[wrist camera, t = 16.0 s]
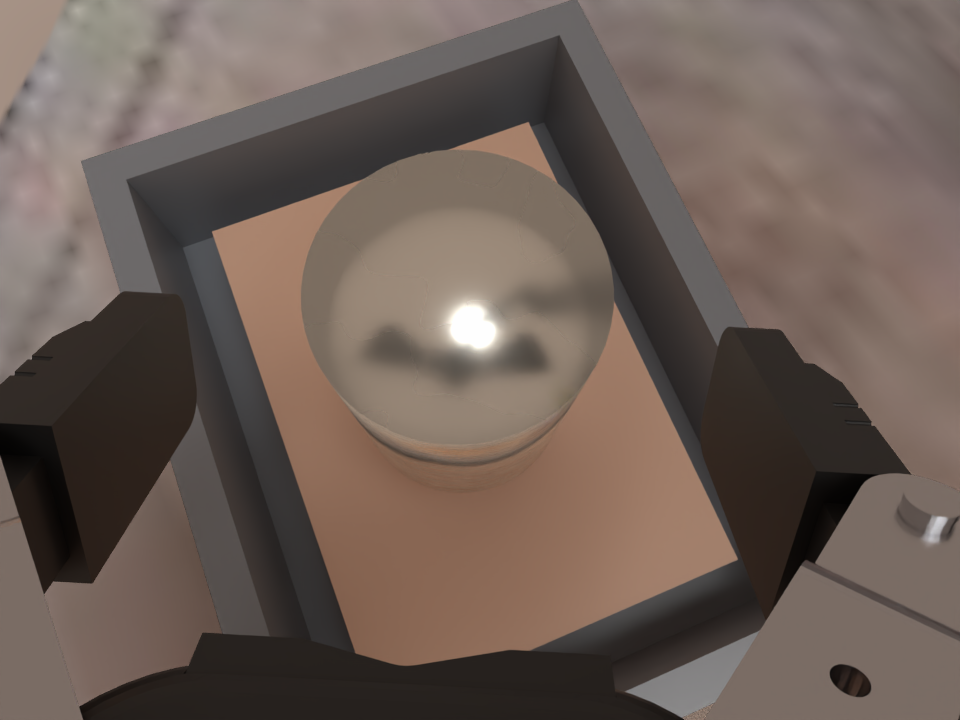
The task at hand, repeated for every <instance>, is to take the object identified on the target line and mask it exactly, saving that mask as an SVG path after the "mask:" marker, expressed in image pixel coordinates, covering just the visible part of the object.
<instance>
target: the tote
mask: <svg viewBox="0 0 960 720" xmlns="http://www.w3.org/2000/svg"><path fill="white" fill-rule="evenodd" d="M527 122H529V124H530V126H531V129H532V131H533V133H534V135H535V137H536V139H537V141H538V143H539V145H540V147H541V149H542V151H543V154H544V156H545V158H546V160H547V162H548V164H549V166H550V168H551V170H552V172H553V174H554V176H555V179H556V181H557V183H558V184H559V185H560V186H561V187H563V188H564V189H565V190H566V191H567V192H568V193H569V194H570V195H571V196H572V197H573V198H574V199H575V200H576V201H577V202H578V203H579V204H580V206H581V207H582V208H583V210H584V211H585V212H586V213H587V215H588V216H589V217H590V219H591V221H592V222H593V224H594V226H595V227H596V229H597V231H598V233H599V235H600V237H601V239H602V242H603V244H604V246H605V249H606V251H607V255H608V258H609V262H610V266H611V270H612V277H613V285H614V302H615V304H616V306H617V308H618V310H619V312H620V314H621V316H622V318H623V320H624V323H625V325H626V327H627V329H628V331H629V333H630V335H631V337H632V339H633V341H634V343H635V345H636V348H637V350H638V352H639V354H640V356H641V358H642V360H643V362H644V364H645V366H646V368H647V370H648V373H649V375H650V377H651V379H652V381H653V383H654V385H655V387H656V389H657V391H658V393H659V396H660V398H661V400H662V402H663V404H664V406H665V408H666V410H667V412H668V414H669V416H670V418H671V421H672V423H673V425H674V427H675V429H676V431H677V433H678V435H679V437H680V439H681V441H682V444H683V446H684V448H685V450H686V452H687V454H688V456H689V458H690V460H691V462H692V464H693V466H694V469H695V471H696V473H697V475H698V477H699V479H700V481H701V483H702V485H703V487H704V489H705V491H706V494H707V496H708V498H709V500H710V502H711V504H712V506H713V508H714V510H715V512H716V514H717V517H718V519H719V521H720V523H721V525H722V527H723V529H724V531H725V533H726V535H727V537H728V539H729V542H730V544H731V546H732V548H733V550H734V552H735V554H736V556H737V558H738V560H736V561H733V562H731V563H729V564H726V565H724V566H722V567H720V568H717V569H715V570H713V571H710V572H708V573H706V574H704V575H701V576H699V577H697V578H694V579H692V580H690V581H688V582H685V583H683V584H681V585H678V586H676V587H674V588H672V589H669V590H667V591H665V592H662V593H660V594H658V595H656V596H653V597H651V598H649V599H646V600H644V601H642V602H640V603H637V604H635V605H633V606H630V607H628V608H626V609H624V610H621V611H619V612H617V613H614V614H612V615H610V616H608V617H605V618H603V619H601V620H598V621H596V622H594V623H592V624H589V625H587V626H585V627H582V628H580V629H578V630H576V631H573V632H571V633H569V634H566V635H564V636H562V637H560V638H557V639H555V640H553V641H550V642H548V643H546V644H544V645H541V646H539V647H537V648H534V649H532V650H530V651H542V652H560V653H578V654H596V655H610V659H611V665H612V672H613V679H614V685H615V689H618V690H621V691H624V692H627V693H631V694H633V695H636V696H638V697H641V698H643V699H646V700H648V701H650V702H653V703H655V704H657V705H659V706H661V707H663V708H665V709H667V710H668V711H670V712H672V713H674V714H676V715H678V716H679V717H681V718H682V717H684V716H687V715H689V714H691V713H693V712H695V711H697V710H700V709H702V708H704V707H706V706H708V705H710V704H713V703H715V702H716V700H717V698H718V697H719V695H720V694H721V692H722V690H723V689H724V687H725V686H726V684H727V682H728V681H729V679H730V678H731V676H732V674H733V673H734V671H735V670H736V668H737V667H738V665H739V663H740V662H741V660H742V659H743V657H744V655H745V654H746V652H747V651H748V649H749V647H750V646H751V644H752V643H753V641H754V639H755V638H756V636H757V635H758V633H759V631H760V630H761V628H762V627H763V625H764V623H765V622H766V620H765V617H764V615H763V612H762V609H761V607H760V604H759V602H758V599H757V596H756V594H755V591H754V589H753V586H752V583H751V581H750V578H749V576H748V573H747V570H746V568H745V565H744V562H743V560H742V557H741V555H740V552H739V549H738V547H737V544H736V542H735V539H734V536H733V534H732V531H731V529H730V526H729V523H728V521H727V518H726V515H725V513H724V510H723V508H722V505H721V502H720V500H719V497H718V495H717V492H716V489H715V487H714V484H713V481H712V479H711V476H710V474H709V471H708V468H707V466H706V463H705V461H704V458H703V454H702V449H701V422H702V416H703V411H704V407H705V402H706V398H707V393H708V389H709V385H710V380H711V376H712V371H713V367H714V362H715V358H716V354H717V349H718V345H719V341H720V338H721V335H722V333H723V331H724V330H725V329H726V328H727V327H743V328H749V327H748V325H747V323H746V322H745V320H744V318H743V316H742V314H741V312H740V310H739V308H738V306H737V304H736V302H735V301H734V299H733V297H732V295H731V293H730V291H729V289H728V287H727V285H726V283H725V281H724V279H723V278H722V276H721V274H720V272H719V270H718V268H717V266H716V264H715V262H714V260H713V258H712V257H711V255H710V253H709V251H708V249H707V247H706V245H705V243H704V241H703V239H702V237H701V236H700V234H699V232H698V230H697V228H696V226H695V224H694V222H693V220H692V218H691V216H690V215H689V213H688V211H687V209H686V207H685V205H684V203H683V201H682V199H681V197H680V195H679V193H678V192H677V190H676V188H675V186H674V184H673V182H672V180H671V178H670V176H669V174H668V172H667V171H666V169H665V167H664V165H663V163H662V161H661V159H660V157H659V155H658V153H657V151H656V150H655V148H654V146H653V144H652V142H651V140H650V138H649V136H648V134H647V132H646V130H645V129H644V127H643V125H642V123H641V121H640V119H639V117H638V115H637V113H636V111H635V109H634V107H633V106H632V104H631V102H630V100H629V98H628V96H627V94H626V92H625V90H624V88H623V86H622V85H621V83H620V81H619V79H618V77H617V75H616V73H615V71H614V69H613V67H612V65H611V64H610V62H609V60H608V58H607V56H606V54H605V52H604V50H603V48H602V46H601V44H600V43H599V41H598V39H597V37H596V35H595V33H594V31H593V29H592V27H591V25H590V23H589V22H588V20H587V18H586V16H585V14H584V12H583V10H582V8H581V6H580V4H579V2H578V0H571V1H568V2H565V3H562V4H559V5H556V6H553V7H550V8H547V9H544V10H540V11H537V12H534V13H531V14H528V15H525V16H522V17H519V18H516V19H513V20H510V21H507V22H504V23H501V24H498V25H495V26H492V27H489V28H486V29H482V30H479V31H476V32H473V33H470V34H467V35H464V36H461V37H458V38H455V39H452V40H449V41H446V42H443V43H440V44H437V45H434V46H431V47H428V48H425V49H421V50H418V51H415V52H412V53H409V54H406V55H403V56H400V57H397V58H394V59H391V60H388V61H385V62H382V63H379V64H376V65H373V66H370V67H367V68H364V69H360V70H357V71H354V72H351V73H348V74H345V75H342V76H339V77H336V78H333V79H330V80H327V81H324V82H321V83H318V84H315V85H312V86H309V87H306V88H303V89H299V90H296V91H293V92H290V93H287V94H284V95H281V96H278V97H275V98H272V99H269V100H266V101H263V102H260V103H257V104H254V105H251V106H248V107H245V108H242V109H238V110H235V111H232V112H229V113H226V114H223V115H220V116H217V117H214V118H211V119H208V120H205V121H202V122H199V123H196V124H193V125H190V126H187V127H184V128H181V129H177V130H174V131H171V132H168V133H165V134H162V135H159V136H156V137H153V138H150V139H147V140H144V141H141V142H138V143H135V144H132V145H129V146H126V147H123V148H120V149H116V150H113V151H110V152H107V153H104V154H101V155H98V156H95V157H92V158H89V159H86V160H83V161H81V163H82V166H83V169H84V173H85V176H86V179H87V183H88V186H89V189H90V193H91V196H92V199H93V203H94V206H95V209H96V213H97V216H98V219H99V223H100V226H101V229H102V233H103V236H104V240H105V243H106V246H107V250H108V253H109V256H110V260H111V263H112V266H113V270H114V273H115V276H116V280H117V283H118V286H119V290H120V293H122V292H124V291H132V292H150V293H167V294H177V295H178V296H179V297H180V298H181V299H182V301H183V304H184V307H185V311H186V318H187V324H188V331H189V338H190V345H191V352H192V359H193V366H194V373H195V379H196V387H197V402H196V410H195V415H194V418H193V421H192V424H191V426H190V428H189V430H188V431H187V433H186V435H185V436H184V438H183V439H182V441H181V443H180V444H179V446H178V447H177V449H176V451H175V452H174V454H173V455H172V457H171V458H170V460H171V463H172V467H173V470H174V473H175V477H176V480H177V483H178V487H179V490H180V493H181V497H182V500H183V503H184V507H185V510H186V513H187V517H188V520H189V523H190V527H191V530H192V533H193V537H194V540H195V543H196V547H197V550H198V553H199V557H200V560H201V563H202V567H203V570H204V573H205V577H206V580H207V583H208V587H209V590H210V593H211V597H212V600H213V603H214V607H215V610H216V613H217V617H218V620H219V623H220V627H221V630H222V634H235V635H253V636H271V637H289V638H304V639H307V640H311V641H314V642H318V643H321V644H325V645H328V646H332V647H335V648H339V649H342V650H346V651H349V652H353V653H355V650H354V647H353V644H352V641H351V638H350V635H349V632H348V629H347V627H346V624H345V621H344V618H343V615H342V612H341V609H340V606H339V603H338V600H337V597H336V594H335V591H334V588H333V585H332V583H331V580H330V577H329V574H328V571H327V568H326V565H325V562H324V559H323V556H322V553H321V550H320V547H319V544H318V541H317V539H316V536H315V533H314V530H313V527H312V524H311V521H310V518H309V515H308V512H307V509H306V506H305V503H304V500H303V497H302V495H301V492H300V489H299V486H298V483H297V480H296V477H295V474H294V471H293V468H292V465H291V462H290V459H289V456H288V453H287V451H286V448H285V445H284V442H283V439H282V436H281V433H280V430H279V427H278V424H277V421H276V418H275V415H274V412H273V409H272V407H271V404H270V401H269V398H268V395H267V392H266V389H265V386H264V383H263V380H262V377H261V374H260V371H259V368H258V365H257V363H256V360H255V357H254V354H253V351H252V348H251V345H250V342H249V339H248V336H247V333H246V330H245V327H244V324H243V321H242V319H241V316H240V313H239V310H238V307H237V304H236V301H235V298H234V295H233V292H232V289H231V286H230V283H229V280H228V277H227V275H226V272H225V269H224V266H223V263H222V260H221V257H220V254H219V251H218V248H217V245H216V242H215V239H214V236H213V233H212V231H215V230H218V229H221V228H224V227H227V226H230V225H233V224H235V223H238V222H241V221H244V220H247V219H250V218H253V217H256V216H259V215H261V214H264V213H267V212H270V211H273V210H276V209H279V208H282V207H285V206H287V205H290V204H293V203H296V202H299V201H302V200H305V199H308V198H311V197H313V196H316V195H319V194H322V193H325V192H328V191H331V190H334V189H336V188H339V187H342V186H345V185H348V184H351V183H354V182H357V181H360V180H362V179H365V178H366V177H368V176H369V175H371V174H373V173H374V172H376V171H378V170H379V169H381V168H383V167H385V166H387V165H390V164H392V163H394V162H397V161H399V160H401V159H405V158H408V157H411V156H415V155H418V154H423V153H428V152H434V151H442V150H449V149H452V148H455V147H458V146H461V145H463V144H466V143H469V142H472V141H475V140H478V139H481V138H484V137H487V136H489V135H492V134H495V133H498V132H501V131H504V130H507V129H510V128H513V127H515V126H518V125H521V124H524V123H527Z"/></svg>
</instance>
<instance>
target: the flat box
mask: <svg viewBox="0 0 960 720" xmlns="http://www.w3.org/2000/svg"><path fill="white" fill-rule="evenodd" d="M449 150H475V151H482V152H488V153H493V154H498V155H501V156H504V157H508V158H511V159H514V160H517V161H519V162H521V163H524V164H526V165H528V166H531V167H533V168H534V169H536V170H538V171H539V172H541V173H543V174H545V175H546V176H548V177H549V178H551V179H552V180H553V181H555V182H556V183H557V181H556V179H555V176H554V174H553V172H552V170H551V168H550V166H549V164H548V162H547V160H546V158H545V156H544V154H543V151H542V149H541V147H540V145H539V143H538V141H537V139H536V137H535V135H534V133H533V131H532V129H531V126H530V124H529V122H527V123H524V124H521V125H518V126H515V127H513V128H510V129H507V130H504V131H501V132H498V133H495V134H492V135H489V136H487V137H484V138H481V139H478V140H475V141H472V142H469V143H466V144H463V145H461V146H458V147H455V148H452V149H449ZM362 180H363V179H362ZM362 180H360V181H357V182H354V183H351V184H348V185H345V186H342V187H339V188H336V189H334V190H331V191H328V192H325V193H322V194H319V195H316V196H313V197H311V198H308V199H305V200H302V201H299V202H296V203H293V204H290V205H287V206H285V207H282V208H279V209H276V210H273V211H270V212H267V213H264V214H261V215H259V216H256V217H253V218H250V219H247V220H244V221H241V222H238V223H235V224H233V225H230V226H227V227H224V228H221V229H218V230H215V231H212V233H213V236H214V239H215V242H216V245H217V248H218V251H219V254H220V257H221V260H222V263H223V266H224V269H225V272H226V275H227V277H228V280H229V283H230V286H231V289H232V292H233V295H234V298H235V301H236V304H237V307H238V310H239V313H240V316H241V319H242V321H243V324H244V327H245V330H246V333H247V336H248V339H249V342H250V345H251V348H252V351H253V354H254V357H255V360H256V363H257V365H258V368H259V371H260V374H261V377H262V380H263V383H264V386H265V389H266V392H267V395H268V398H269V401H270V404H271V407H272V409H273V412H274V415H275V418H276V421H277V424H278V427H279V430H280V433H281V436H282V439H283V442H284V445H285V448H286V451H287V453H288V456H289V459H290V462H291V465H292V468H293V471H294V474H295V477H296V480H297V483H298V486H299V489H300V492H301V495H302V497H303V500H304V503H305V506H306V509H307V512H308V515H309V518H310V521H311V524H312V527H313V530H314V533H315V536H316V539H317V541H318V544H319V547H320V550H321V553H322V556H323V559H324V562H325V565H326V568H327V571H328V574H329V577H330V580H331V583H332V585H333V588H334V591H335V594H336V597H337V600H338V603H339V606H340V609H341V612H342V615H343V618H344V621H345V624H346V627H347V629H348V632H349V635H350V638H351V641H352V644H353V647H354V650H355V653H356V654H360V655H363V656H367V657H370V658H374V659H377V660H381V661H384V662H388V663H391V664H395V665H401V666H411V665H419V664H425V663H431V662H438V661H444V660H450V659H456V658H462V657H468V656H474V655H481V654H487V653H493V652H499V651H505V650H524V651H530V650H532V649H534V648H537V647H539V646H541V645H544V644H546V643H548V642H550V641H553V640H555V639H557V638H560V637H562V636H564V635H566V634H569V633H571V632H573V631H576V630H578V629H580V628H582V627H585V626H587V625H589V624H592V623H594V622H596V621H598V620H601V619H603V618H605V617H608V616H610V615H612V614H614V613H617V612H619V611H621V610H624V609H626V608H628V607H630V606H633V605H635V604H637V603H640V602H642V601H644V600H646V599H649V598H651V597H653V596H656V595H658V594H660V593H662V592H665V591H667V590H669V589H672V588H674V587H676V586H678V585H681V584H683V583H685V582H688V581H690V580H692V579H694V578H697V577H699V576H701V575H704V574H706V573H708V572H710V571H713V570H715V569H717V568H720V567H722V566H724V565H726V564H729V563H731V562H733V561H736V560H738V558H737V556H736V554H735V552H734V550H733V548H732V546H731V544H730V542H729V539H728V537H727V535H726V533H725V531H724V529H723V527H722V525H721V523H720V521H719V519H718V517H717V514H716V512H715V510H714V508H713V506H712V504H711V502H710V500H709V498H708V496H707V494H706V491H705V489H704V487H703V485H702V483H701V481H700V479H699V477H698V475H697V473H696V471H695V469H694V466H693V464H692V462H691V460H690V458H689V456H688V454H687V452H686V450H685V448H684V446H683V444H682V441H681V439H680V437H679V435H678V433H677V431H676V429H675V427H674V425H673V423H672V421H671V418H670V416H669V414H668V412H667V410H666V408H665V406H664V404H663V402H662V400H661V398H660V396H659V393H658V391H657V389H656V387H655V385H654V383H653V381H652V379H651V377H650V375H649V373H648V370H647V368H646V366H645V364H644V362H643V360H642V358H641V356H640V354H639V352H638V350H637V348H636V345H635V343H634V341H633V339H632V337H631V335H630V333H629V331H628V329H627V327H626V325H625V323H624V320H623V318H622V316H621V314H620V312H619V310H618V308H617V306H616V304H615V302H614V309H613V316H612V323H611V328H610V331H609V335H608V338H607V342H606V345H605V347H604V350H603V352H602V354H601V356H600V358H599V361H598V363H597V365H596V366H595V368H594V370H593V371H592V373H591V375H590V376H589V378H588V379H587V381H586V383H585V384H584V386H583V388H582V389H581V391H580V393H579V394H578V396H577V397H576V399H575V401H574V402H573V404H572V406H571V407H570V409H569V411H568V412H567V414H566V416H565V417H564V419H563V420H562V422H561V424H560V425H559V427H558V429H557V430H556V432H555V434H554V435H553V437H552V438H551V440H550V442H549V443H548V445H547V446H546V448H545V450H544V451H543V452H542V454H541V455H540V456H539V457H538V458H537V460H536V461H535V462H534V463H533V464H532V465H531V466H529V467H528V468H527V469H526V470H525V471H524V472H522V473H521V474H519V475H518V476H516V477H515V478H513V479H512V480H510V481H508V482H506V483H504V484H502V485H499V486H496V487H493V488H490V489H486V490H482V491H477V492H465V493H459V492H447V491H441V490H436V489H433V488H430V487H427V486H424V485H422V484H419V483H417V482H415V481H413V480H411V479H410V478H408V477H407V476H405V475H404V474H402V473H401V472H399V471H398V470H397V469H396V468H395V467H394V466H392V465H391V464H390V463H389V462H388V461H387V459H386V458H385V457H384V456H383V455H382V454H381V452H380V451H379V450H378V448H377V447H376V445H375V444H374V443H373V441H372V440H371V439H370V437H369V436H368V435H367V433H366V432H365V430H364V429H363V428H362V426H361V425H360V424H359V422H358V421H357V420H356V418H355V417H354V415H353V414H352V413H351V411H350V410H349V409H348V407H347V406H346V404H345V403H344V402H343V400H342V399H341V398H340V396H339V395H338V394H337V392H336V391H335V389H334V388H333V387H332V385H331V384H330V383H329V381H328V380H327V378H326V376H325V375H324V373H323V372H322V370H321V369H320V367H319V366H318V364H317V361H316V359H315V357H314V355H313V353H312V351H311V349H310V346H309V343H308V339H307V336H306V333H305V329H304V324H303V317H302V311H301V285H302V277H303V270H304V266H305V263H306V259H307V255H308V252H309V249H310V247H311V244H312V242H313V240H314V237H315V235H316V233H317V231H318V230H319V228H320V226H321V225H322V223H323V221H324V219H325V218H326V217H327V215H328V214H329V213H330V211H331V210H332V209H333V207H334V206H335V205H336V204H337V202H338V201H339V200H340V199H341V198H342V197H343V196H344V195H345V194H346V193H347V192H348V191H350V190H351V189H352V188H353V187H354V186H356V185H357V184H358V183H360V182H361V181H362ZM557 184H558V183H557Z"/></svg>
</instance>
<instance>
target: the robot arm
mask: <svg viewBox="0 0 960 720" xmlns="http://www.w3.org/2000/svg"><path fill="white" fill-rule="evenodd" d="M196 402H197V387H196V379H195V373H194V366H193V359H192V352H191V345H190V338H189V331H188V324H187V318H186V311H185V307H184V304H183V301H182V299H181V298H180V297H179V296H178V295H177V294H167V293H150V292H132V291H124V292H122V293H120V294H119V295H118V296H117V297H116V298H115V299H114V300H113V301H112V302H111V303H109V304H108V305H107V306H106V307H105V308H104V309H103V310H102V311H101V312H100V313H99V314H98V315H97V316H96V317H95V318H94V319H93V320H92V321H85V322H83V323H81V324H79V325H76V326H74V327H72V328H70V329H68V330H66V331H64V332H62V333H60V334H58V335H56V336H54V337H52V338H51V339H50V340H49V341H48V342H47V343H46V344H45V345H43V346H42V347H41V348H40V349H39V350H38V351H37V352H36V353H35V354H33V355H32V360H27V361H26V362H25V363H24V364H22V365H21V366H20V367H19V368H18V369H17V370H16V371H15V376H9V377H8V378H7V379H6V380H5V381H4V382H3V383H2V384H0V720H684V719H682V718H681V717H679V716H678V715H676V714H674V713H672V712H670V711H668V710H667V709H665V708H663V707H661V706H659V705H657V704H655V703H653V702H650V701H648V700H646V699H643V698H641V697H638V696H636V695H633V694H631V693H627V692H624V691H621V690H618V689H615V685H614V679H613V672H612V665H611V659H610V655H596V654H578V653H560V652H542V651H524V650H505V651H499V652H493V653H487V654H481V655H474V656H468V657H462V658H456V659H450V660H444V661H438V662H431V663H425V664H419V665H411V666H401V665H395V664H391V663H388V662H384V661H381V660H377V659H374V658H370V657H367V656H363V655H360V654H356V653H353V652H349V651H346V650H342V649H339V648H335V647H332V646H328V645H325V644H321V643H318V642H314V641H311V640H307V639H304V638H289V637H271V636H253V635H235V634H217V633H202V635H201V638H200V640H199V642H198V645H197V647H196V650H195V652H194V654H193V657H192V659H191V661H190V664H189V666H185V667H179V668H174V669H170V670H166V671H162V672H159V673H155V674H151V675H148V676H145V677H142V678H140V679H137V680H134V681H131V682H128V683H126V684H123V685H121V686H119V687H117V688H115V689H112V690H110V691H108V692H106V693H104V694H102V695H99V696H98V697H96V698H94V699H92V700H91V701H89V702H87V703H85V704H83V705H82V706H80V707H79V705H78V702H77V699H76V695H75V692H74V689H73V686H72V683H71V679H70V676H69V673H68V670H67V667H66V663H65V660H64V657H63V654H62V651H61V647H60V644H59V641H58V638H57V635H56V632H55V628H54V625H53V622H52V619H51V616H50V612H49V609H48V606H47V603H46V600H45V596H44V594H45V592H46V591H47V589H48V588H49V586H50V585H51V583H52V582H53V581H56V582H74V583H93V582H94V580H95V578H96V577H97V575H98V574H99V572H100V570H101V569H102V567H103V566H104V564H105V562H106V561H107V559H108V558H109V556H110V554H111V553H112V551H113V550H114V548H115V546H116V545H117V543H118V542H119V540H120V538H121V537H122V535H123V534H124V532H125V530H126V529H127V527H128V526H129V524H130V522H131V521H132V519H133V518H134V516H135V514H136V513H137V511H138V510H139V508H140V506H141V505H142V503H143V502H144V500H145V498H146V497H147V495H148V494H149V492H150V490H151V489H152V487H153V486H154V484H155V482H156V481H157V479H158V478H159V476H160V474H161V473H162V471H163V470H164V468H165V466H166V465H167V463H168V462H169V460H170V458H171V457H172V455H173V454H174V452H175V451H176V449H177V447H178V446H179V444H180V443H181V441H182V439H183V438H184V436H185V435H186V433H187V431H188V430H189V428H190V426H191V424H192V421H193V418H194V415H195V410H196ZM701 449H702V454H703V458H704V461H705V463H706V466H707V468H708V471H709V474H710V476H711V479H712V481H713V484H714V487H715V489H716V492H717V495H718V497H719V500H720V502H721V505H722V508H723V510H724V513H725V515H726V518H727V521H728V523H729V526H730V529H731V531H732V534H733V536H734V539H735V542H736V544H737V547H738V549H739V552H740V555H741V557H742V560H743V562H744V565H745V568H746V570H747V573H748V576H749V578H750V581H751V583H752V586H753V589H754V591H755V594H756V596H757V599H758V602H759V604H760V607H761V609H762V612H763V615H764V617H765V620H766V622H765V623H764V625H763V627H762V628H761V630H760V631H759V633H758V635H757V636H756V638H755V639H754V641H753V643H752V644H751V646H750V647H749V649H748V651H747V652H746V654H745V655H744V657H743V659H742V660H741V662H740V663H739V665H738V667H737V668H736V670H735V671H734V673H733V674H732V676H731V678H730V679H729V681H728V682H727V684H726V686H725V687H724V689H723V690H722V692H721V694H720V695H719V697H718V698H717V700H716V702H715V703H714V705H713V706H712V708H711V710H710V711H709V713H708V714H707V716H706V718H705V719H704V720H960V492H959V491H958V490H956V489H954V488H952V487H949V486H947V485H945V484H942V483H940V482H937V481H934V480H931V479H927V478H924V477H920V476H915V475H911V474H910V472H909V471H908V470H907V468H906V467H905V466H904V464H903V463H902V462H901V460H900V459H899V458H898V456H897V455H896V454H895V452H894V451H893V450H892V448H891V447H890V446H889V444H888V443H887V442H886V440H885V439H884V438H883V436H882V435H881V434H880V432H879V431H878V430H877V428H876V427H875V426H871V420H870V419H869V418H868V416H867V415H866V414H865V412H864V411H863V410H862V408H858V403H857V402H856V400H855V399H854V398H853V396H852V395H851V394H850V393H849V391H848V390H847V389H846V387H845V386H844V385H843V383H842V382H840V381H839V380H837V379H836V378H834V377H833V376H831V375H830V374H828V373H827V372H825V371H824V370H823V369H821V368H820V367H818V366H817V365H815V364H807V363H804V362H803V361H802V359H801V358H800V356H799V355H798V353H797V352H796V351H795V349H794V348H793V346H792V345H791V343H790V342H789V341H788V339H787V338H786V336H785V335H784V333H783V332H782V331H781V330H778V329H761V328H743V327H727V328H726V329H725V330H724V331H723V333H722V335H721V338H720V341H719V345H718V349H717V354H716V358H715V362H714V367H713V371H712V376H711V380H710V385H709V389H708V393H707V398H706V402H705V407H704V411H703V416H702V422H701Z"/></svg>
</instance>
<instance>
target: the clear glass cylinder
mask: <svg viewBox="0 0 960 720" xmlns="http://www.w3.org/2000/svg"><path fill="white" fill-rule="evenodd" d="M613 309H614V285H613V277H612V270H611V266H610V262H609V258H608V255H607V251H606V249H605V246H604V244H603V242H602V239H601V237H600V235H599V233H598V231H597V229H596V227H595V226H594V224H593V222H592V221H591V219H590V217H589V216H588V215H587V213H586V212H585V211H584V210H583V208H582V207H581V206H580V204H579V203H578V202H577V201H576V200H575V199H574V198H573V197H572V196H571V195H570V194H569V193H568V192H567V191H566V190H565V189H564V188H563V187H561V186H560V185H559V184H557V183H556V182H555V181H553V180H552V179H551V178H549V177H548V176H546V175H545V174H543V173H541V172H539V171H538V170H536V169H534V168H533V167H531V166H528V165H526V164H524V163H521V162H519V161H517V160H514V159H511V158H508V157H504V156H501V155H498V154H493V153H488V152H482V151H475V150H442V151H434V152H428V153H423V154H418V155H415V156H411V157H408V158H405V159H401V160H399V161H397V162H394V163H392V164H390V165H387V166H385V167H383V168H381V169H379V170H378V171H376V172H374V173H373V174H371V175H369V176H368V177H366V178H365V179H363V180H362V181H361V182H360V183H358V184H357V185H356V186H354V187H353V188H352V189H351V190H350V191H348V192H347V193H346V194H345V195H344V196H343V197H342V198H341V199H340V200H339V201H338V202H337V204H336V205H335V206H334V207H333V209H332V210H331V211H330V213H329V214H328V215H327V217H326V218H325V219H324V221H323V223H322V225H321V226H320V228H319V230H318V231H317V233H316V235H315V237H314V240H313V242H312V244H311V247H310V249H309V252H308V255H307V259H306V263H305V266H304V270H303V277H302V285H301V311H302V317H303V324H304V329H305V333H306V336H307V339H308V343H309V346H310V349H311V351H312V353H313V355H314V357H315V359H316V361H317V364H318V366H319V367H320V369H321V370H322V372H323V373H324V375H325V376H326V378H327V380H328V381H329V383H330V384H331V385H332V387H333V388H334V389H335V391H336V392H337V394H338V395H339V396H340V398H341V399H342V400H343V402H344V403H345V404H346V406H347V407H348V409H349V410H350V411H351V413H352V414H353V415H354V417H355V418H356V420H357V421H358V422H359V424H360V425H361V426H362V428H363V429H364V430H365V432H366V433H367V435H368V436H369V437H370V439H371V440H372V441H373V443H374V444H375V445H376V447H377V448H378V450H379V451H380V452H381V454H382V455H383V456H384V457H385V458H386V459H387V461H388V462H389V463H390V464H391V465H392V466H394V467H395V468H396V469H397V470H398V471H399V472H401V473H402V474H404V475H405V476H407V477H408V478H410V479H411V480H413V481H415V482H417V483H419V484H422V485H424V486H427V487H430V488H433V489H436V490H441V491H447V492H459V493H465V492H477V491H482V490H486V489H490V488H493V487H496V486H499V485H502V484H504V483H506V482H508V481H510V480H512V479H513V478H515V477H516V476H518V475H519V474H521V473H522V472H524V471H525V470H526V469H527V468H528V467H529V466H531V465H532V464H533V463H534V462H535V461H536V460H537V458H538V457H539V456H540V455H541V454H542V452H543V451H544V450H545V448H546V446H547V445H548V443H549V442H550V440H551V438H552V437H553V435H554V434H555V432H556V430H557V429H558V427H559V425H560V424H561V422H562V420H563V419H564V417H565V416H566V414H567V412H568V411H569V409H570V407H571V406H572V404H573V402H574V401H575V399H576V397H577V396H578V394H579V393H580V391H581V389H582V388H583V386H584V384H585V383H586V381H587V379H588V378H589V376H590V375H591V373H592V371H593V370H594V368H595V366H596V365H597V363H598V361H599V358H600V356H601V354H602V352H603V350H604V347H605V345H606V342H607V338H608V335H609V331H610V328H611V323H612V316H613Z"/></svg>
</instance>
